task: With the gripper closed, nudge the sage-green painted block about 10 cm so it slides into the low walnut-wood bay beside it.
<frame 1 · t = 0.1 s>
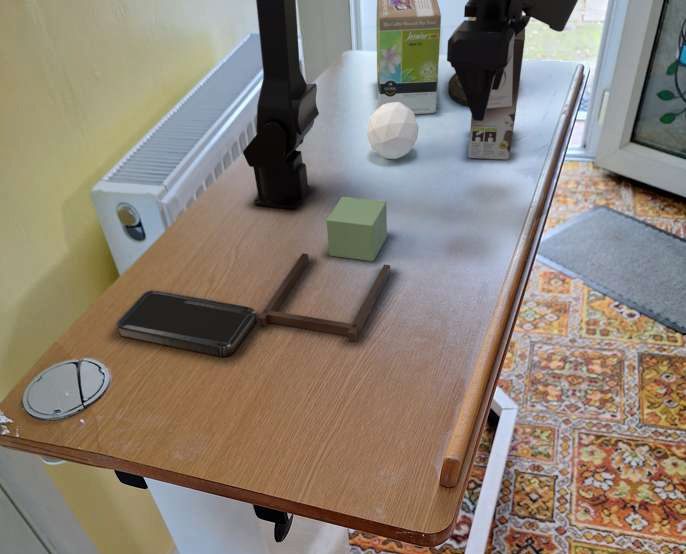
hand: (486, 104, 79), 15 cm above the table, tool pointing down, fingers open, 9 cm apart
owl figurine: (481, 88, 120), on the table
tea box: (406, 99, 119), on the table
block: (358, 246, 87), on the table
coffee box: (490, 147, 104), on the table
bay: (327, 299, 80), on the table
phone: (188, 326, 78), on the table
geometric ball: (392, 157, 104), on the table
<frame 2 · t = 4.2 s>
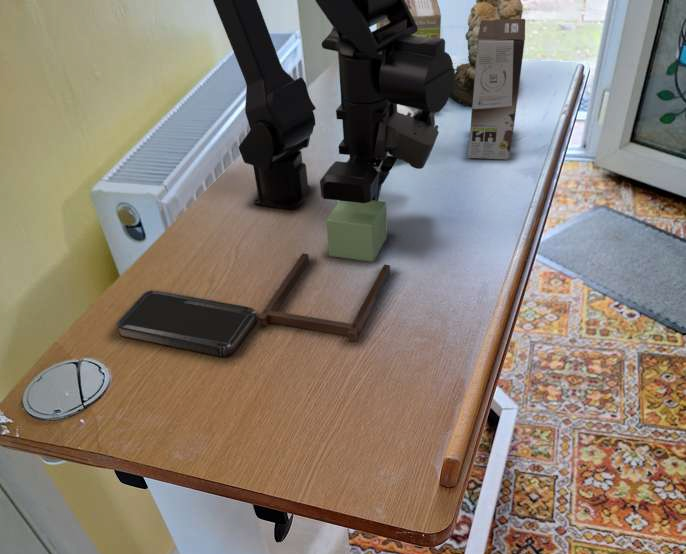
hand: (370, 218, 90), 1 cm above the table, tool pointing down, fingers closed
block: (358, 246, 87), on the table, touching gripper
everything else where it was.
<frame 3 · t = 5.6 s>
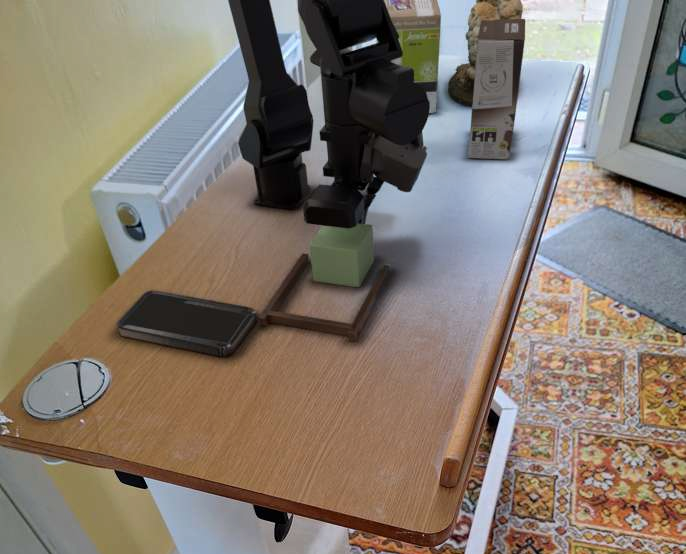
hand: (357, 241, 86), 1 cm above the table, tool pointing down, fingers closed
block: (344, 271, 84), on the table, touching gripper
everything else where it was.
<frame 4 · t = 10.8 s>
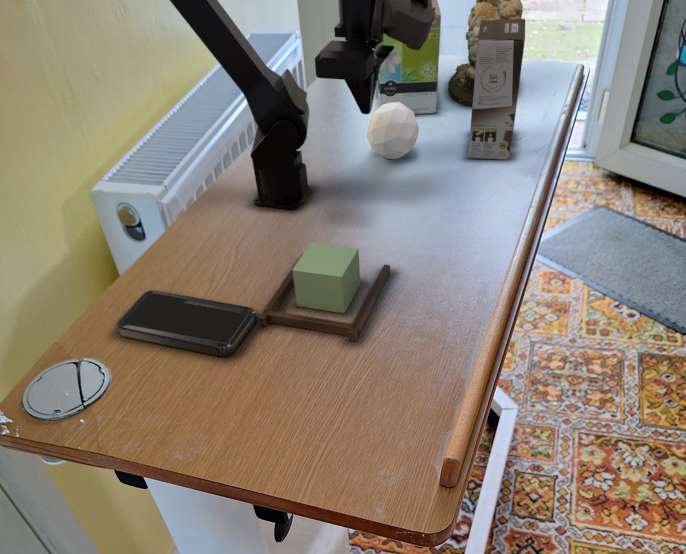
hand: (366, 113, 88), 11 cm above the table, tool pointing down, fingers closed
block: (329, 295, 81), on the table
everything else where it was.
at the end: block inside the target area on the bay (0.8 cm from its centre), point 0.0 cm above the bay's base; block moved 11.2 cm from its start; block tilted 0° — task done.
